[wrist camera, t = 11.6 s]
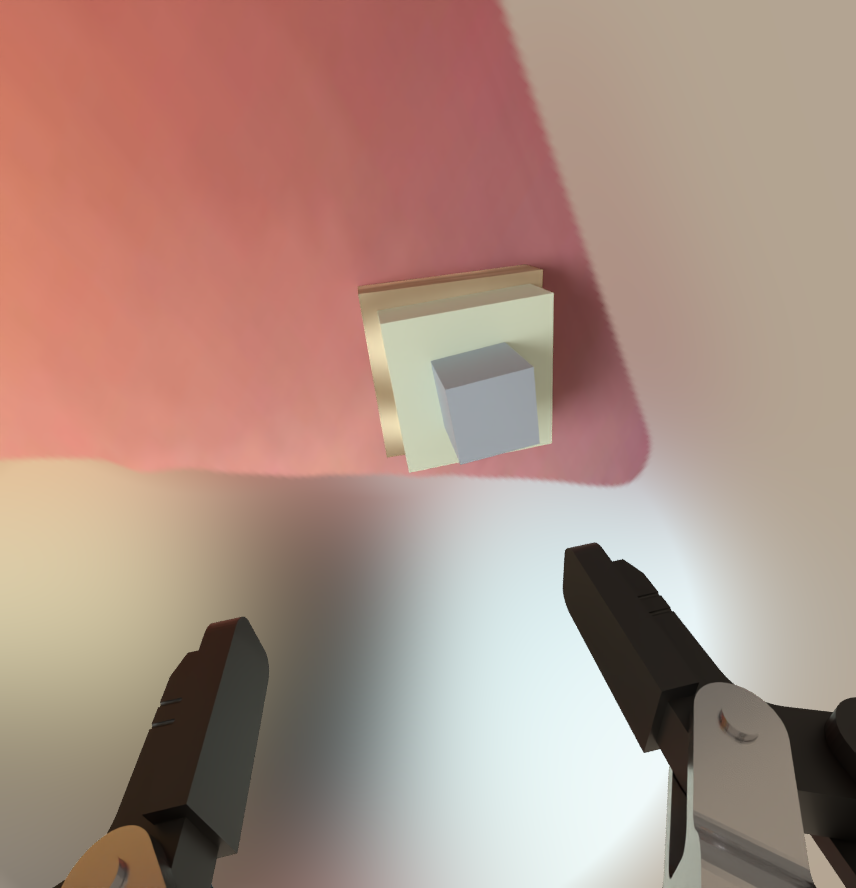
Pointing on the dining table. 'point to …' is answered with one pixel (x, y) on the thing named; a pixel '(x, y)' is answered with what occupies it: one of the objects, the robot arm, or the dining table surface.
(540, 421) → the top block
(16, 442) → the dining table surface
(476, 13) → the dining table surface
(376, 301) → the base block
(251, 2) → the dining table surface
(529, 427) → the slate cube
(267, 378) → the dining table surface
